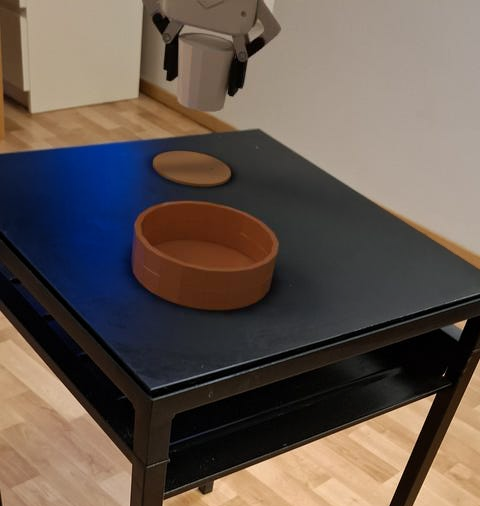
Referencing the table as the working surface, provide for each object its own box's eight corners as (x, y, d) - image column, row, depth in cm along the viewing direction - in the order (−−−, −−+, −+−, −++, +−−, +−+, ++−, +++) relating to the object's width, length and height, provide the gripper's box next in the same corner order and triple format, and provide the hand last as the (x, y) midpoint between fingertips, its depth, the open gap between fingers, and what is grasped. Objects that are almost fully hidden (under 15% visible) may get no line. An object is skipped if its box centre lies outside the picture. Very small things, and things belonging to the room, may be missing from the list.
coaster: (136, 163, 94) (136, 158, 93) (192, 150, 100) (193, 145, 100) (190, 194, 89) (191, 190, 89) (246, 179, 96) (246, 174, 95)
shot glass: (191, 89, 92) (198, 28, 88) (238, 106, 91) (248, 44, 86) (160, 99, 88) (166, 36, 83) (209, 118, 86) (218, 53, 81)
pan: (102, 260, 74) (104, 219, 71) (202, 228, 83) (207, 190, 80) (201, 328, 68) (207, 286, 65) (297, 285, 77) (306, 247, 74)
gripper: (132, -110, 74) (122, 76, 86) (300, -71, 73) (266, 112, 84) (155, -114, 80) (143, 61, 91) (311, -79, 79) (278, 94, 90)
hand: (202, 84), depth 88 cm, fingers closed on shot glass, 6 cm apart
